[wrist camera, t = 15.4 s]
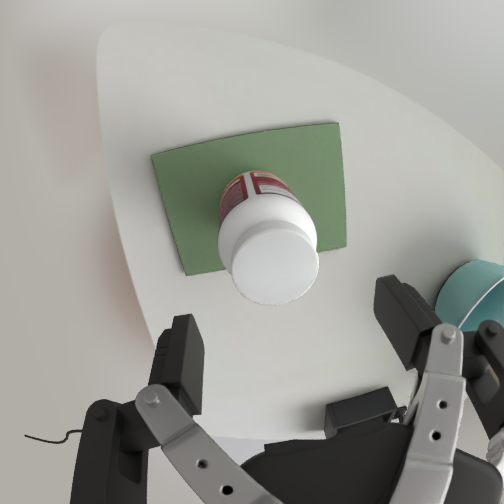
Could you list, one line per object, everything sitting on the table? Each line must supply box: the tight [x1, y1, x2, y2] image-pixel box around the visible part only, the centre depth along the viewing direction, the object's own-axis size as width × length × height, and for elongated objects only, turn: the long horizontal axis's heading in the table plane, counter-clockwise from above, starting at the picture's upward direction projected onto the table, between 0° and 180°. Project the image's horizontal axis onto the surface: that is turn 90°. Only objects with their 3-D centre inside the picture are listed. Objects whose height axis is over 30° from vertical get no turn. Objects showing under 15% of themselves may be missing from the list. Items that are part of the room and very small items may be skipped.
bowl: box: [435, 260, 504, 332], centre depth 29 cm, size 16×16×8 cm
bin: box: [324, 387, 397, 439], centre depth 42 cm, size 12×12×5 cm
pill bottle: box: [218, 171, 319, 305], centre depth 20 cm, size 6×6×11 cm
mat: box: [151, 123, 346, 276], centre depth 25 cm, size 16×12×1 cm
